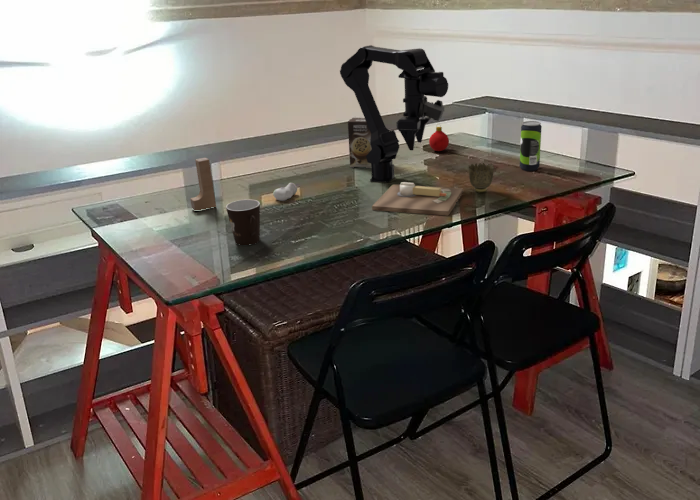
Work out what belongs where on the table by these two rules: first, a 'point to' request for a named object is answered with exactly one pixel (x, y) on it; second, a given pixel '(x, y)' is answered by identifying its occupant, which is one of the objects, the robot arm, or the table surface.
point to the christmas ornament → (439, 140)
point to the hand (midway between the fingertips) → (415, 146)
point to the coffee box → (359, 142)
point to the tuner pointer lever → (419, 190)
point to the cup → (481, 176)
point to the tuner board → (418, 201)
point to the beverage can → (530, 145)
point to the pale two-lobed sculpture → (285, 192)
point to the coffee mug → (245, 221)
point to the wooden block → (204, 186)
